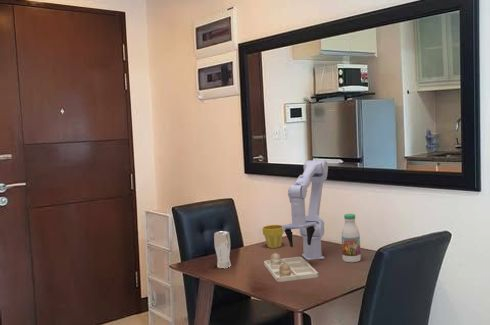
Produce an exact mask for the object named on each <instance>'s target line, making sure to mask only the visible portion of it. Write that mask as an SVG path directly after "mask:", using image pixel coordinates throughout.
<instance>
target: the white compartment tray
mask: <svg viewBox="0 0 490 325" xmlns="http://www.w3.org/2000/svg"><path fill="white" fill-rule="evenodd" d="M284 263H286V264H288V265H289V266H290V269H291V276H286V277H280V272H279V268H280V266H281V265H282V264H284ZM263 265H264V266H265V269H266V270H268V272H269V273H270V275H271V276H272V277H273V279H274V280H275V281H276V283H282V282H291V281H299V280H307V279H316V278H319V277H320V276H319V275H320V274H319V272H318V271H317V270H316V269H315V268H314V267H313V266H312V265H311V264H310V263H309V262H308V261H307V260H306V259H305V258H304V257H303V256H295V257H285V258H281V265H272V266H271V259H268V260H263Z"/></svg>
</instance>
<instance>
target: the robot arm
mask: <svg viewBox="0 0 490 325" xmlns="http://www.w3.org/2000/svg"><path fill="white" fill-rule="evenodd" d="M328 170H329V164H328V162H327V160H326V159H323V160H320V159H319V160H309V159H308V160H307V159H306V160H305V161H304V162H303V172H302V174H299V176H298V177H297V179H296V181H295V182H294V183H293V184H291V185H290V186H289V187H288V189H287V190H288V192H287V196H288V199H289V203H290V207H291V223H288V224H287V223H286V224H281V225H282V230H283V231H284V233H285V236H286V238H287V239H288V243H289V244H288V245H289V247H290V248H293V247H294V244H293V242H294V241H293V231H292V230H298V229H299V235H300V236H301V237H302V239H303V240H302V245H303V246H302V247H303V248H302V250H303V253H302V254H301V257H302V258H303V259H304V260H305V261H309V260H317V259H318V260H324V259H325V256H323V254H322V241H321V238H323V236H324V235H325V221H324V220H323V219H322V218H321V217H320V209H321V202H322V192H323V187H324V185H323V184H324V181H326V180H327V179H328V178H327V177H328ZM310 185H311V186H310ZM309 187H311V188H310V196H309V197H310V198H309V203H308V209H307V210H308V212H307V216H306V203H305V202H306V200H305V199H306V197H307V194H308V193H307V192H308V188H309Z"/></svg>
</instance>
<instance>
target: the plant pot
mask: <svg viewBox="0 0 490 325" xmlns="http://www.w3.org/2000/svg"><path fill="white" fill-rule="evenodd" d="M282 225H283V224H269V225H268V224H267V225H265V226H262V235H263V236H264V238H265V243H266V245H267V248H270V249H277V248H280V247H282V240H283V235H284V233H285V232H284V231H283V230H282Z"/></svg>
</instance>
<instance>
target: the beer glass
mask: <svg viewBox="0 0 490 325" xmlns="http://www.w3.org/2000/svg"><path fill="white" fill-rule="evenodd" d="M213 234H214V235H213V239H214V242H213V243H214V250H215V254H216V258H217V263H216V268H217V269H221V268H224V269H228V267H229V268H231V267H232V265H231V260H230V254H231V236H230V231H225V230H220V231H216V232H214V233H213ZM230 266H231V267H230Z"/></svg>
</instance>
